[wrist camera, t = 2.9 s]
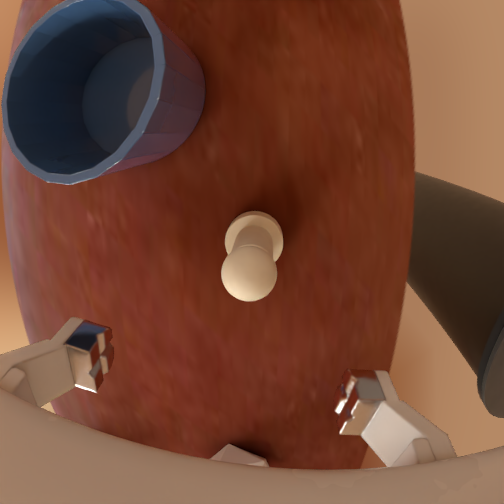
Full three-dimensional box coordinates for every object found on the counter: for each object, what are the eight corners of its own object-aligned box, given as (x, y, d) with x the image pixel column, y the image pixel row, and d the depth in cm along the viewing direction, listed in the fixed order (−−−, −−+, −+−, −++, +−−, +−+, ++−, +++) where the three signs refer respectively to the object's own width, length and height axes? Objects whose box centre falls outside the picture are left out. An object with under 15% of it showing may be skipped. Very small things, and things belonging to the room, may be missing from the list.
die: (269, 472, 35) (302, 508, 26) (209, 500, 32) (228, 543, 23) (245, 425, 36) (276, 456, 26) (179, 453, 32) (191, 493, 23)
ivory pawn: (287, 216, 23) (295, 255, 15) (276, 268, 24) (278, 325, 17) (231, 206, 23) (212, 241, 15) (223, 258, 24) (203, 312, 17)
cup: (217, 36, 18) (185, -18, 10) (193, 171, 22) (146, 195, 13) (93, 37, 18) (21, 8, 10) (75, 158, 22) (-4, 177, 13)
